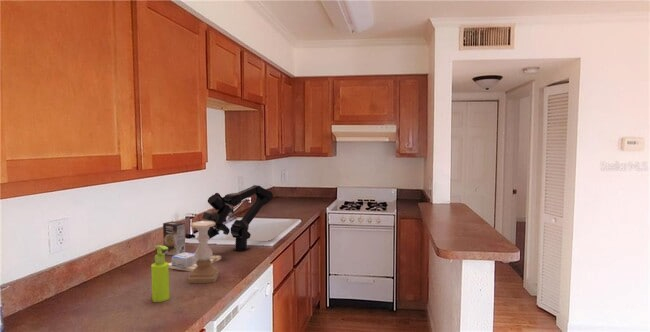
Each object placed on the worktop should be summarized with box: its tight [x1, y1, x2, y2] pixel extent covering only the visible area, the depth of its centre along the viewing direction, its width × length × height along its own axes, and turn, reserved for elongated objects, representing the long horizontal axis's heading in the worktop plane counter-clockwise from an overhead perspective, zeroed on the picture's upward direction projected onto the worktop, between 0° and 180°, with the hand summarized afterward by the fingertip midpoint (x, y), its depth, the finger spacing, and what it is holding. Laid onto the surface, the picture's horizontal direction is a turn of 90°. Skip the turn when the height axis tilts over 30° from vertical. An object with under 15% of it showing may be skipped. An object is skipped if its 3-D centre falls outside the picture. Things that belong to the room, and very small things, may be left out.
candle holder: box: [187, 220, 220, 284], centre depth 161 cm, size 11×11×24 cm
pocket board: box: [168, 254, 222, 273], centre depth 182 cm, size 20×16×2 cm
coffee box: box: [162, 220, 186, 256], centre depth 197 cm, size 9×6×16 cm
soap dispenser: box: [150, 244, 170, 303], centre depth 140 cm, size 6×7×20 cm
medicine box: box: [170, 251, 198, 268], centre depth 175 cm, size 8×4×9 cm
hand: (203, 241), depth 185 cm, fingers closed
